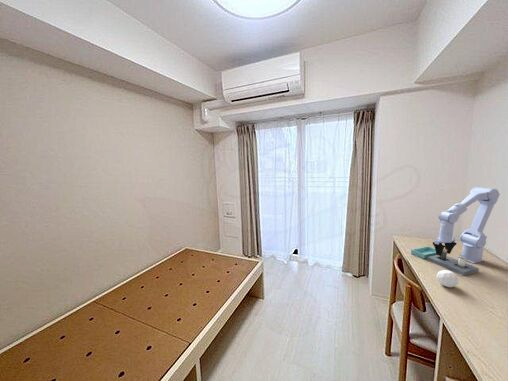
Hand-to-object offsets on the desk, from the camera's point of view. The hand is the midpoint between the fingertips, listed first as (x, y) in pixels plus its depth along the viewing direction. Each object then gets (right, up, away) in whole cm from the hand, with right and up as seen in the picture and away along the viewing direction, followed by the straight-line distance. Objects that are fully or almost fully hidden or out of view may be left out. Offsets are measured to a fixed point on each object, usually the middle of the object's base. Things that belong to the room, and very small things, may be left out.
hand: (443, 254), depth 125 cm
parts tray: (-2, -3, +10) cm, 11 cm away
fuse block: (+1, -6, -3) cm, 7 cm away
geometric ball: (-18, -9, -22) cm, 30 cm away
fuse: (+3, -6, -8) cm, 10 cm away
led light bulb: (0, -5, +1) cm, 5 cm away
